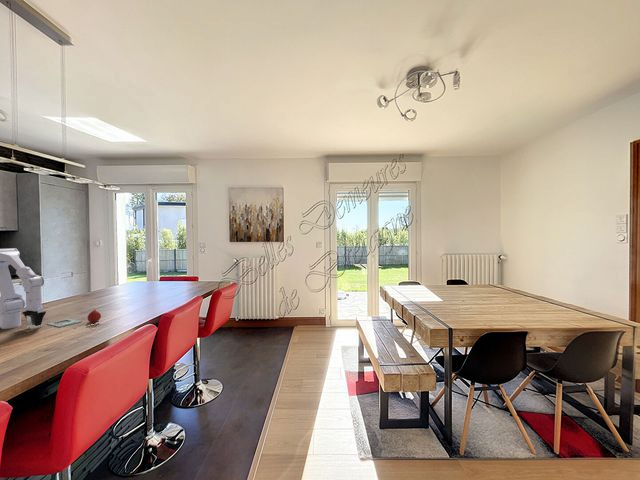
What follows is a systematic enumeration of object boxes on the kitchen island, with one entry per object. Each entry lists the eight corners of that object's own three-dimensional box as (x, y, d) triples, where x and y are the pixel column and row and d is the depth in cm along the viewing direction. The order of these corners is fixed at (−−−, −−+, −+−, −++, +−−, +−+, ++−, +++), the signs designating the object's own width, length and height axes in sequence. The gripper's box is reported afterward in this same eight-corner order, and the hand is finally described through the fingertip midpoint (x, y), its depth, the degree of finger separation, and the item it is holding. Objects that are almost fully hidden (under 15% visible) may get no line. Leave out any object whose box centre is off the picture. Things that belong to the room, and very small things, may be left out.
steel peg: (26, 328, 143) (26, 315, 143) (38, 326, 147) (37, 313, 147) (30, 329, 141) (30, 316, 141) (42, 327, 145) (41, 314, 145)
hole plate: (46, 326, 150) (46, 323, 150) (68, 320, 159) (68, 318, 159) (59, 329, 145) (59, 326, 145) (82, 323, 154) (82, 320, 154)
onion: (93, 325, 151) (92, 311, 151) (85, 324, 152) (84, 310, 152) (103, 322, 156) (103, 308, 156) (95, 321, 158) (95, 308, 158)
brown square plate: (18, 331, 142) (18, 329, 142) (41, 326, 150) (41, 324, 150) (27, 333, 138) (26, 331, 138) (50, 328, 147) (50, 326, 147)
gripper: (16, 299, 143) (17, 325, 144) (30, 302, 138) (30, 328, 138) (34, 297, 150) (35, 321, 150) (48, 299, 144) (49, 324, 144)
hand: (34, 324), depth 144 cm, fingers open, 7 cm apart
